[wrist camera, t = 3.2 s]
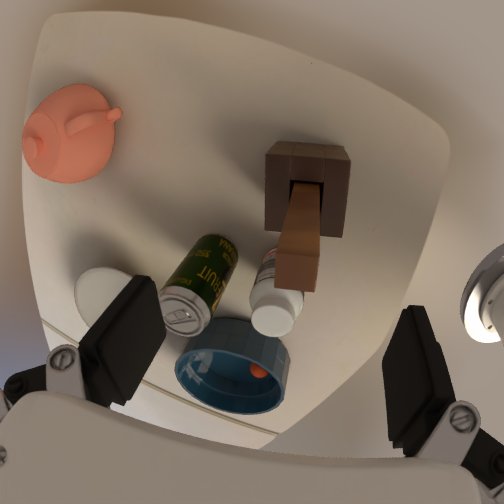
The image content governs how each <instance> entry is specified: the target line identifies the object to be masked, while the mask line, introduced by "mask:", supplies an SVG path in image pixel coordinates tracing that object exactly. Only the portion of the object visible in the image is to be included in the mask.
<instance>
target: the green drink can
mask: <svg viewBox="0 0 504 504" xmlns="http://www.w3.org/2000/svg"><path fill="white" fill-rule="evenodd" d="M237 261H238V253H237V250H236V248H235V245H234V244H233V243H232V241H231V240H230V239H228V238H227V237H225V236H223V235H220V234H209V235H206V236H203V237H202V238H200V239H199V240H198V241H197V243H196V244H195V245H194V247H193V248H192V249H191V251H190V252H189V253H188V254H187V256H186V257H185V258H184V260H183V261H182V262H181V264H180V265H179V266H178V268H177V269H176V270H175V272H174V273H173V274H172V276H171V277H170V278H169V280H168V281H167V282H166V284H165V285H164V286H163V288H162V289H161V291H160V292H159V294H158V298H159V303H160V307H161V311H162V315H163V319H164V323H165V327H166V329H168V330H169V331H171V332H173V333H175V334H177V335H180V336H186V337H191V336H196V335H198V334H200V333H201V331H202V330H203V329H204V328H205V327H206V326H207V325H208V324H209V322H210V320H211V318H212V316H213V314H214V311H215V309H216V307H217V305H218V303H219V301H220V299H221V297H222V294H223V292H224V290H225V288H226V286H227V284H228V282H229V280H230V278H231V275H232V273H233V271H234V269H235V267H236V265H237Z"/></svg>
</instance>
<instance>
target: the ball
mask: <svg viewBox="0 0 504 504" xmlns="http://www.w3.org/2000/svg"><path fill="white" fill-rule="evenodd" d="M250 371H251V373H252V374H253V375H254V376H255V377H258V378H263V377H265V376H267V375H268V374H269V372H268V371H266V370H265V369H263V368H262V367H260V366H259V365H258V364H256V363H253V362H252V363H251V365H250Z"/></svg>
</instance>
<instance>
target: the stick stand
mask: <svg viewBox="0 0 504 504" xmlns="http://www.w3.org/2000/svg"><path fill="white" fill-rule="evenodd" d="M350 168H351V160H350V158H349V156H348V154H347V153H346V151H345V149H344V147H342V146H333V145H323V144H311V143H298V142H297V143H296V142H281V141H277V142H276V143H275V144H274V145H273V146H272V148H271V149H270V150H269V151H268V152H267V153H266V162H265V230H266V231H277V232H282V228H283V224H284V221H285V217H286V213H287V209H288V206H289V202H290V198H291V194H292V191H293V187H294V183H295V180H298V181H310V182H321V187H320V236H328V237H338V238H342V234H343V227H344V220H345V212H346V204H347V196H348V187H349V178H350Z"/></svg>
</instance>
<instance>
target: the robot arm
mask: <svg viewBox="0 0 504 504" xmlns="http://www.w3.org/2000/svg"><path fill="white" fill-rule="evenodd" d="M480 318H481V322H482V324H483V326H484V328H485V329H486V330H487V331H488V332H490V333H493V334H498V335H499V337H500V339H501V341H502V343H503V345H504V274H502V275H501V276H500V277H499V278H498V279H497V280H496V281H495V282H494V284H493V285H492V286H491V288H490V289H489V291H488V292H487V294H486V296H485V298H484V300H483V303H482V306H481V311H480ZM165 337H166V327H165V323H164V319H163V315H162V311H161V307H160V303H159V298H158V294H157V290H156V285H155V282H154V281H152V279H151V278H150V277H149V276H144V275H135V276H134V277H133V278H132V279H131V280H130V281H129V282H128V284H127V285H126V286H125V287H124V288H123V289H122V291H121V292H120V293H119V294H118V295H117V296H116V298H115V299H114V300H113V301H112V302H111V304H110V305H109V306H108V307H107V308H106V310H105V311H104V312H103V313H102V314H101V316H100V317H99V318H98V319H97V321H96V322H95V323H94V324H93V325H92V327H91V328H90V329H89V330H88V332H87V333H86V334H85V336H84V337H83V338H82V339H81V341H80V342H79V347H78V348H76V347H75V346H73V345H68V344H65V345H61V346H58V347H56V348H55V349H53V350H52V351H51V352H50V353H49V355H48V357H47V360H46V364H44V365H41V366H38V367H35V368H32V369H28V370H26V371H22V372H19V373H16V374H14V375H12V376H11V377H9V378H8V380H7V381H6V383H5V385H4V390H2V389H1V388H0V504H504V445H502V444H501V443H500V442H498V441H497V440H496V439H494V438H493V437H491V436H490V435H489V434H488V433H486V432H485V431H484V430H482V429H481V428H480V424H481V418H480V415H479V412H478V410H477V409H476V407H475V406H474V405H472V404H471V403H469V402H467V401H461V400H460V401H456V398H455V394H454V390H453V386H452V383H451V379H450V375H449V372H448V368H447V365H446V362H445V359H444V355H443V352H442V349H441V346H440V344H439V343H438V342H436V339H435V335H434V333H433V330H432V327H431V324H430V321H429V318H428V316H427V313H426V310H425V308H424V306H417V305H409V306H408V307H407V309H403V310H402V313H401V315H400V318H399V321H398V323H397V326H396V328H395V331H394V333H393V336H392V338H391V340H390V343H389V345H388V347H387V350H386V352H385V355H384V357H383V360H382V371H383V379H384V389H385V398H386V410H387V424H388V438H389V441H393V448H403V454H404V456H403V457H402V458H337V457H336V458H335V457H318V456H305V455H294V454H285V453H277V452H270V451H263V450H256V449H250V448H244V447H239V446H234V445H229V444H224V443H219V442H215V441H210V440H206V439H202V438H198V437H194V436H190V435H186V434H183V433H179V432H175V431H172V430H169V429H165V428H162V427H159V426H156V425H153V424H149V423H146V422H143V421H141V420H138V419H135V418H132V417H129V416H127V415H124V414H121V413H118V412H116V411H113V410H111V409H110V405H111V403H112V402H114V403H117V404H119V405H122V406H124V405H125V403H126V401H127V400H128V401H129V400H130V399H131V398H132V397H133V395H134V393H135V391H136V389H137V388H138V386H139V384H140V382H141V380H142V378H143V377H144V375H145V373H146V371H147V369H148V368H149V366H150V364H151V362H152V361H153V359H154V357H155V355H156V353H157V352H158V350H159V348H160V346H161V345H162V343H163V341H164V339H165Z"/></svg>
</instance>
